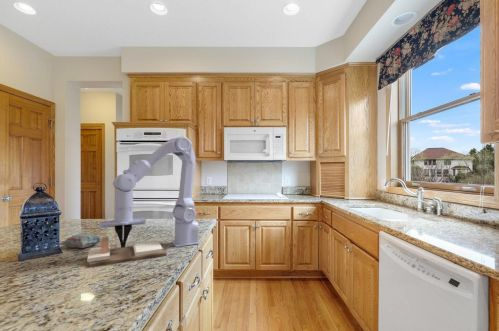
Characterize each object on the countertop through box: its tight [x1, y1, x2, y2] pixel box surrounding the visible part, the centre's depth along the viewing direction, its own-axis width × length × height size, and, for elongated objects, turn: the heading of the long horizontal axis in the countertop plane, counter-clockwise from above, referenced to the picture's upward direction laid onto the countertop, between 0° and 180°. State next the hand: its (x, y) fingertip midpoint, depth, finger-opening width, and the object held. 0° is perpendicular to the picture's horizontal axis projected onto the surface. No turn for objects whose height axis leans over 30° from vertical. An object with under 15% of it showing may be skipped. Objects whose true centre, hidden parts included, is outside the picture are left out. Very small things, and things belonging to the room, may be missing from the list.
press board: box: [88, 242, 167, 268], centre depth 87 cm, size 23×14×1 cm, turn 119°
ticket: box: [132, 240, 164, 256], centre depth 90 cm, size 9×11×1 cm
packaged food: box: [59, 233, 102, 249], centre depth 95 cm, size 9×12×5 cm
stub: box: [86, 236, 111, 263], centre depth 82 cm, size 6×11×5 cm, turn 29°
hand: (122, 246), depth 86 cm, fingers closed
